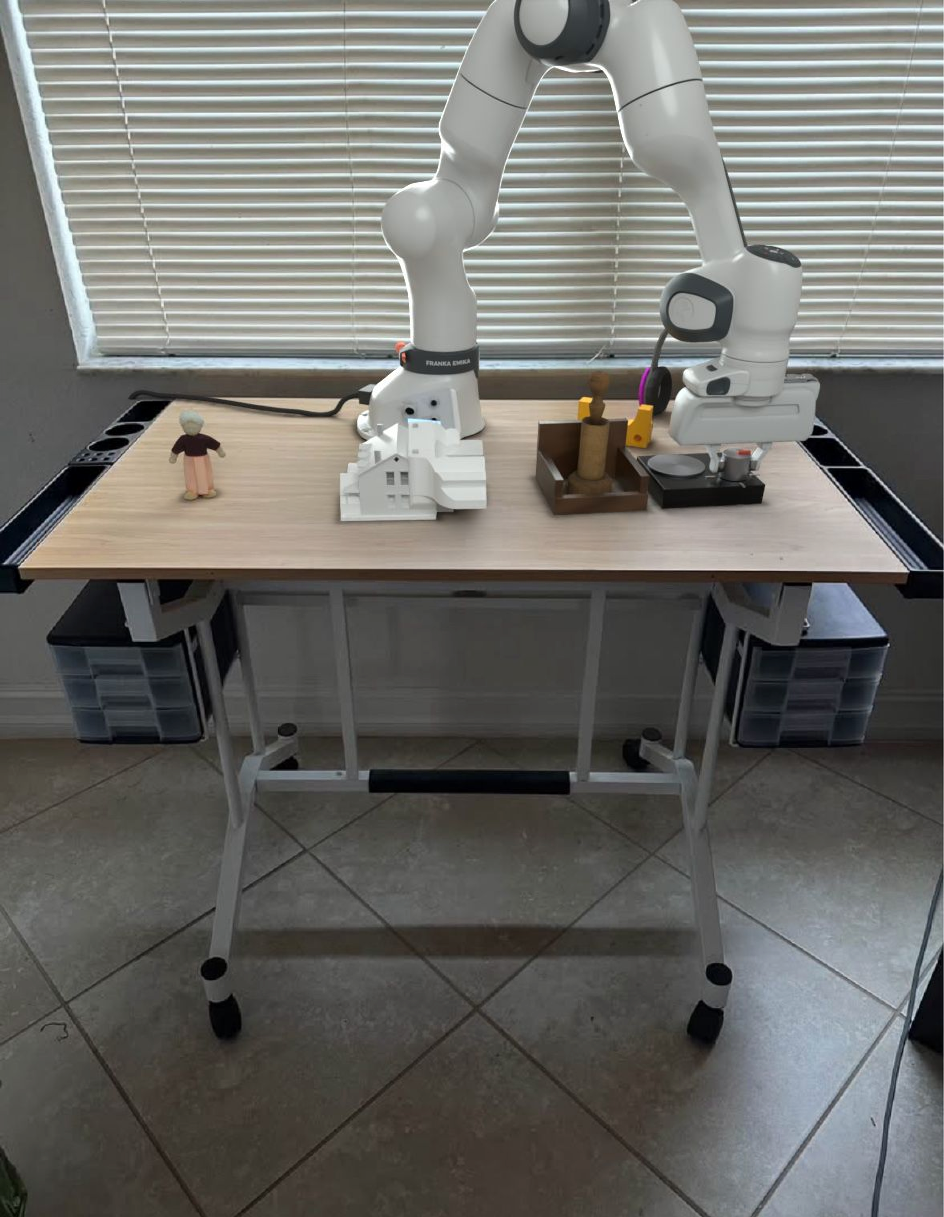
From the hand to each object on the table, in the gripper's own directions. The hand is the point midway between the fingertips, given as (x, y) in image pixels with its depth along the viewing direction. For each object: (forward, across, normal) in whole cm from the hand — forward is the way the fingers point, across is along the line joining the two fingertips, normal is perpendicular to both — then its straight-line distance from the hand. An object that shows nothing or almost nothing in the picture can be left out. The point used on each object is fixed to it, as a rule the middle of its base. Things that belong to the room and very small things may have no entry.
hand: (733, 470), depth 122 cm
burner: (+1, +7, -4) cm, 8 cm away
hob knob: (+1, 0, 0) cm, 1 cm away
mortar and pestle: (+4, +20, -3) cm, 21 cm away
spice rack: (+4, +20, -3) cm, 21 cm away
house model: (+4, +46, -1) cm, 47 cm away
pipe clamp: (+4, +10, -25) cm, 27 cm away
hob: (+4, +4, -3) cm, 6 cm away
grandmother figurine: (+4, +76, -9) cm, 77 cm away
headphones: (+4, -6, -32) cm, 33 cm away
